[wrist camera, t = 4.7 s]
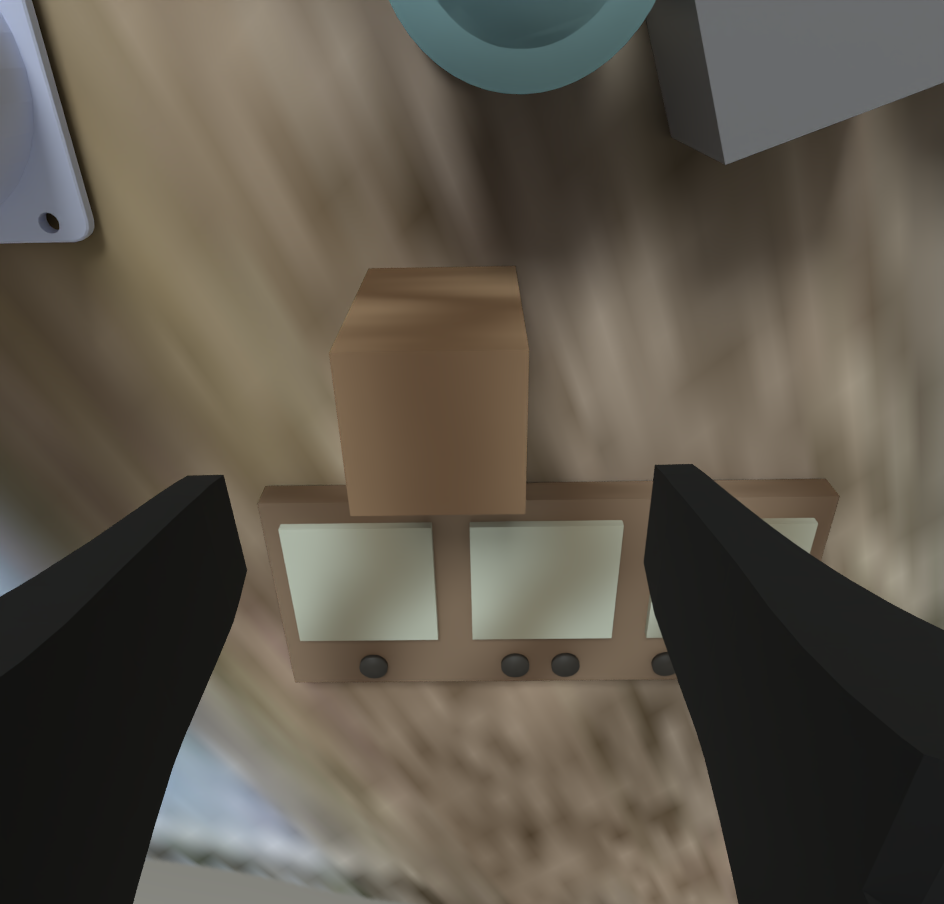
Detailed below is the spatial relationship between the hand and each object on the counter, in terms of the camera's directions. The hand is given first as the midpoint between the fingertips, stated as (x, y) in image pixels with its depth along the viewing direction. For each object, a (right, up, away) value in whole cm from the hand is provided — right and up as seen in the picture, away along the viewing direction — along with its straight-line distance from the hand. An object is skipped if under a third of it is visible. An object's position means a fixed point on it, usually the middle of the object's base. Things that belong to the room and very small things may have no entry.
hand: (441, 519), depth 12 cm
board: (+3, -3, +13) cm, 13 cm away
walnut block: (0, +4, +8) cm, 9 cm away
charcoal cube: (+7, +11, +4) cm, 14 cm away
